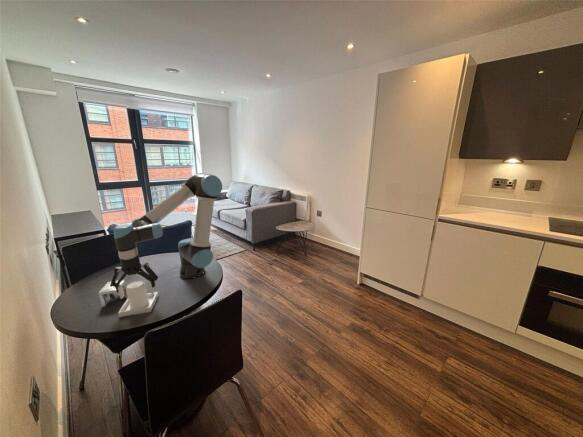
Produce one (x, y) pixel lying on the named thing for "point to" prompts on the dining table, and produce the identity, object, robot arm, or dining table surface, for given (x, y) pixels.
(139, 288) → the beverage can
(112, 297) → the white hollow block
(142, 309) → the tray
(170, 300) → the dining table surface
